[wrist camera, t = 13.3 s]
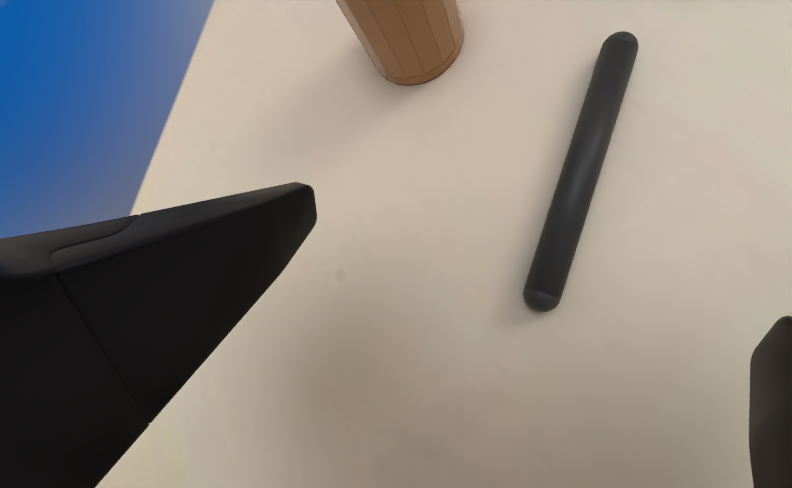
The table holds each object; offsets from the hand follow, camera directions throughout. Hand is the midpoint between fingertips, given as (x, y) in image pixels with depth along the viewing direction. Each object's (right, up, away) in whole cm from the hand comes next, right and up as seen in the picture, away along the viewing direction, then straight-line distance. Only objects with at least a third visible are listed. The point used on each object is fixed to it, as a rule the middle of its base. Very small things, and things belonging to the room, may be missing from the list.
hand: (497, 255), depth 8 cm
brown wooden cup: (-1, +10, +12) cm, 15 cm away
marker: (+5, +8, +9) cm, 13 cm away
